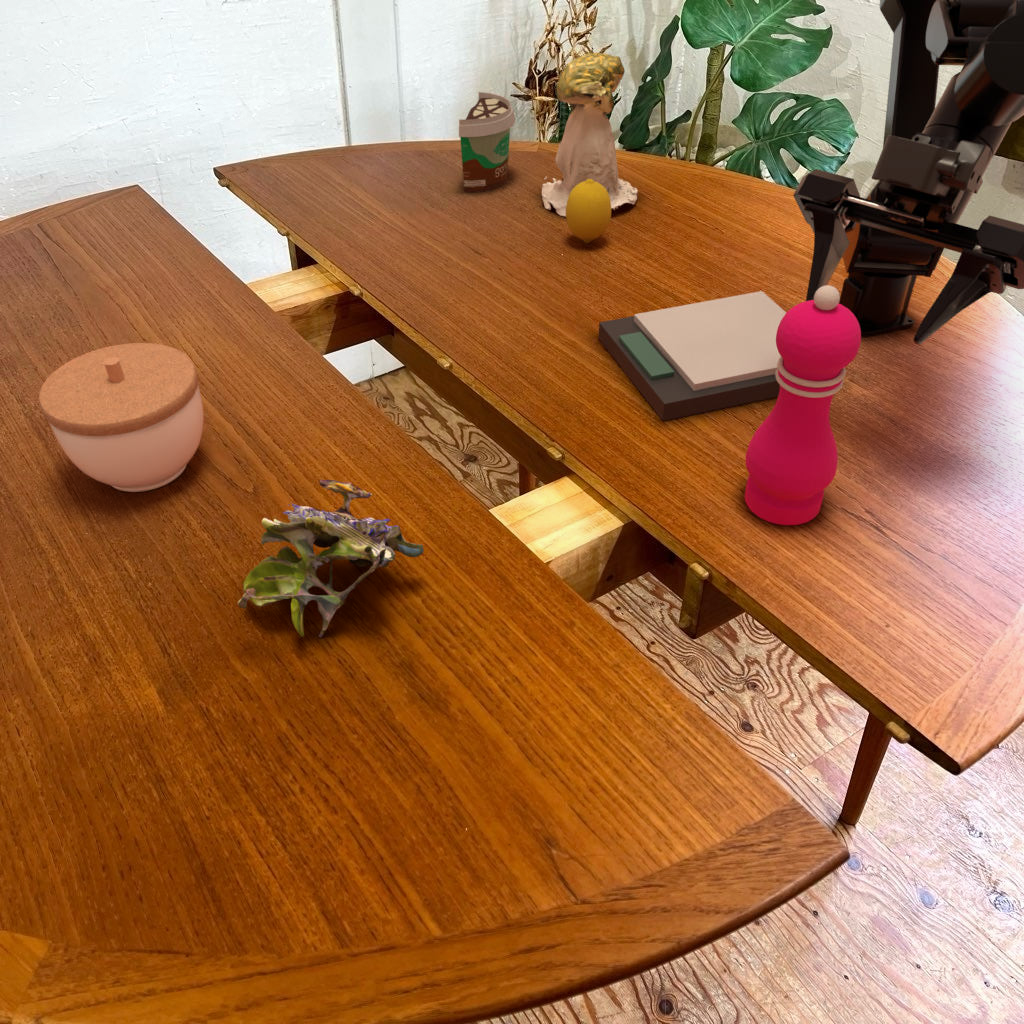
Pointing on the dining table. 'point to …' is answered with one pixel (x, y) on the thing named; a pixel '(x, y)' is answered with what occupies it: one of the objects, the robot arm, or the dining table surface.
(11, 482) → the dining table surface
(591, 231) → the lemon
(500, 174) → the food container
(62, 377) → the lidded bowl
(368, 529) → the passion flower
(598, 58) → the mushroom
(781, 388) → the pepper mill
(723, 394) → the scale
